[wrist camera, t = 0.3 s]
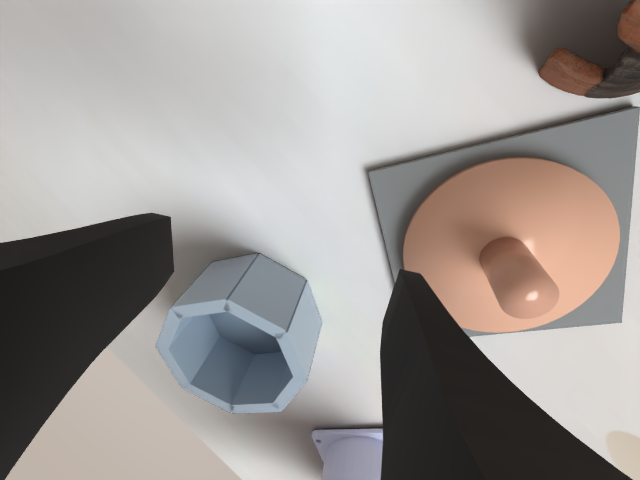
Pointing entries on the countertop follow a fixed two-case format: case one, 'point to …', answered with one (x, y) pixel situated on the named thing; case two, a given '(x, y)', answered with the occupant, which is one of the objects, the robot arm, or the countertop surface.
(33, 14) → the countertop surface
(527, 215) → the lid
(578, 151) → the mat
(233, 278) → the grey octagonal bowl
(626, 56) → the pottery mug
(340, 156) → the countertop surface
